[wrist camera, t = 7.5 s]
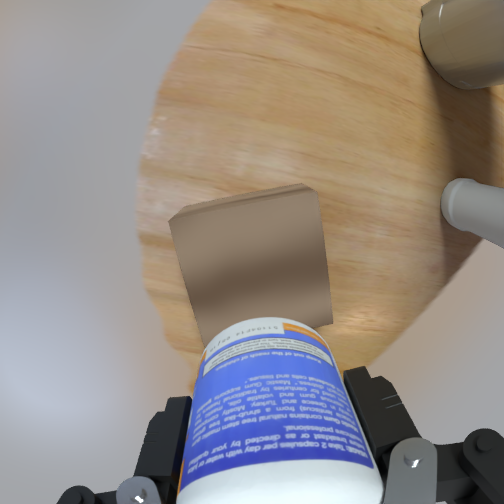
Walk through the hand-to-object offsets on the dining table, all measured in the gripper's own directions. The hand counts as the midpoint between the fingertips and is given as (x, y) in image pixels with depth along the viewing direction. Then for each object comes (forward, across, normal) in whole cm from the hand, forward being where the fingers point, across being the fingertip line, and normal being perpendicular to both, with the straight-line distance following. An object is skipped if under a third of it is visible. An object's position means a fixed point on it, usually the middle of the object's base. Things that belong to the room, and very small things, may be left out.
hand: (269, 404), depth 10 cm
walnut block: (+18, 0, 0) cm, 18 cm away
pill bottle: (+2, 0, 0) cm, 2 cm away
